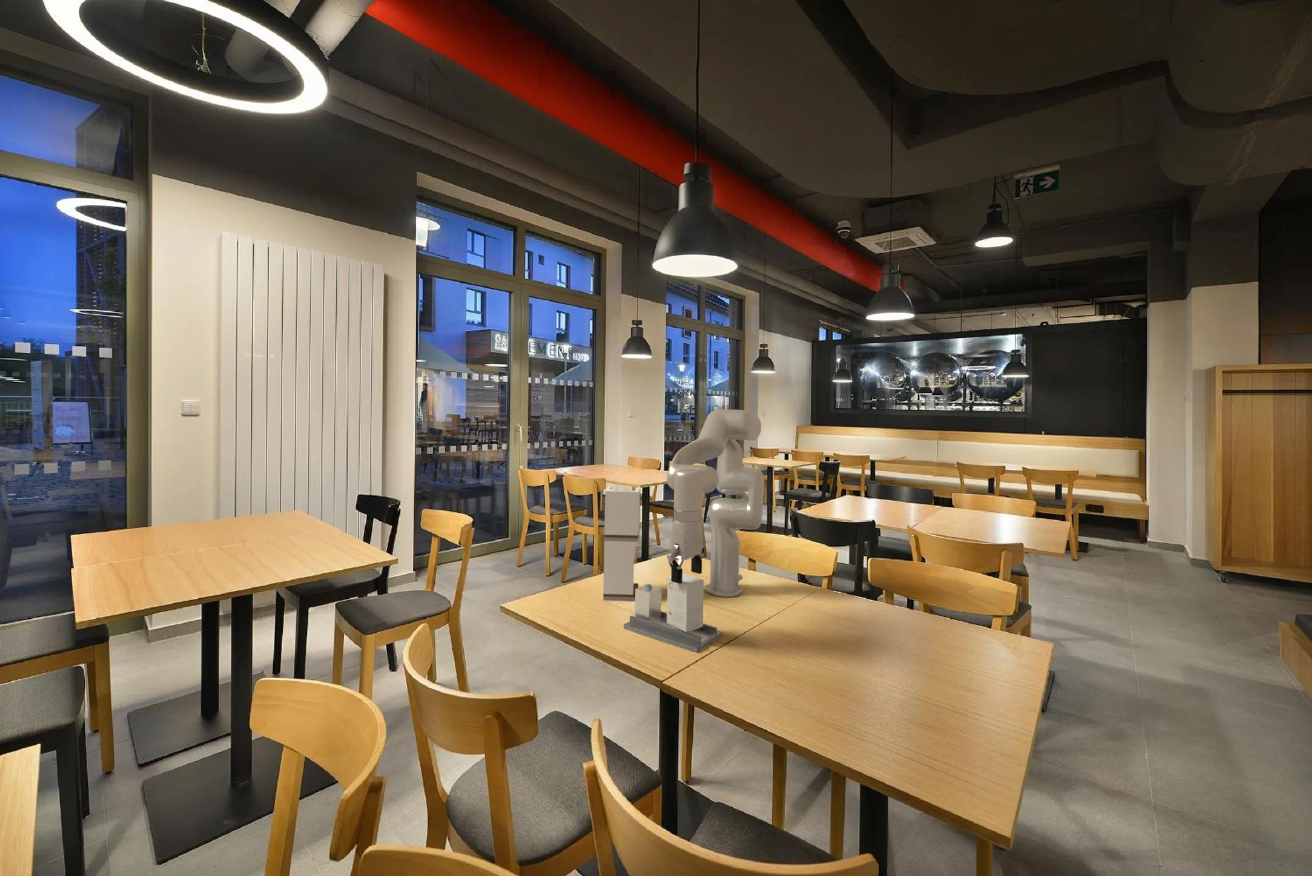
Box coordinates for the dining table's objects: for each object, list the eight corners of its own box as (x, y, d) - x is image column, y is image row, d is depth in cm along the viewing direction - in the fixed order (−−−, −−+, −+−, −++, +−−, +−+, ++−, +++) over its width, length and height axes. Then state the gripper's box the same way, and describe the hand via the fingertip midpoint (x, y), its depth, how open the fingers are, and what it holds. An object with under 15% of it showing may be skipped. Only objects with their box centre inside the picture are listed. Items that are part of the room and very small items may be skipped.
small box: (703, 627, 151) (704, 579, 150) (686, 633, 147) (687, 584, 146) (683, 618, 157) (684, 572, 156) (665, 623, 153) (666, 576, 152)
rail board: (651, 615, 167) (652, 577, 166) (721, 636, 152) (723, 594, 152) (623, 628, 156) (624, 588, 155) (696, 652, 142) (697, 608, 141)
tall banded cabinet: (636, 601, 178) (639, 492, 176) (603, 600, 178) (605, 491, 176) (638, 589, 189) (640, 486, 187) (606, 588, 190) (608, 485, 187)
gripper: (693, 508, 159) (692, 566, 161) (657, 519, 145) (656, 583, 147) (716, 511, 155) (715, 572, 156) (681, 523, 141) (680, 589, 142)
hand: (686, 577), depth 152 cm, fingers open, 9 cm apart
